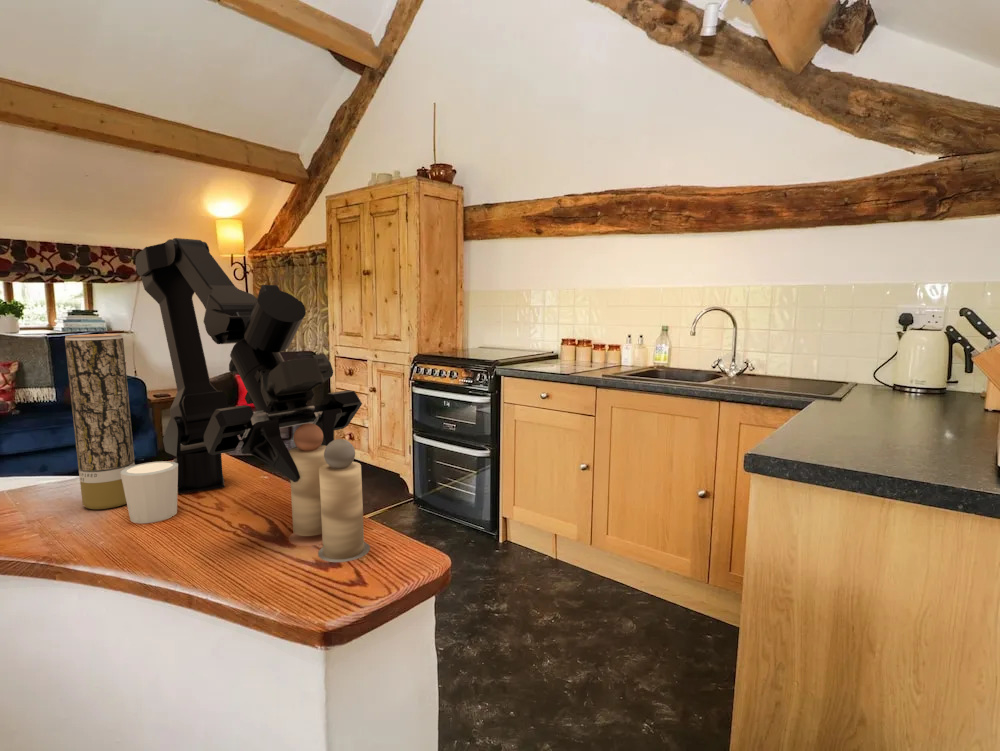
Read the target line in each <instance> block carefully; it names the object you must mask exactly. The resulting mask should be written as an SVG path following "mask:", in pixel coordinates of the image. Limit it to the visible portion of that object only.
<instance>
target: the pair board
mask: <svg viewBox="0 0 1000 751" xmlns="http://www.w3.org/2000/svg"><path fill="white" fill-rule="evenodd" d="M288 541H289V543H290V544H292V545H295V546H300V547H301V546H302V547H307V546H308V547H310V546H318V545H323V540H322V534H319V535H314V536H300V535H297V534H295V533H294V532H293V533H291V534H290V535H289V537H288ZM370 550H371V546H370V545H369V543H367V542H366V541H364V551H363V552H362V553H361V554H359V555H357V556H355V557H352V558H348V559H340V560H336V559H329V558H327V557H325V556H324V555H323V546H322V547H321V548H320V549H319V550H318V552H317V556H318V557H319V558H320V559H321V560H323V561H326V562H331V563H344V562H350V561H351V562H352V561H355V560H357V559H360V558H362V557H364V556H365V555H367V554H368V553H369V552H370Z"/></svg>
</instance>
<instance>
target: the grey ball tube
mask: <svg viewBox="0 0 1000 751" xmlns="http://www.w3.org/2000/svg"><path fill="white" fill-rule="evenodd" d="M355 457H356V450H355V447H354V446H353V444H352V443H351V442H350V441H349V440H347V439H343V438H337V439H334V441H332V442H330V443H329V444H328V445H327V447H326V448H325V451H324V458H325V461H326V463H327V464H325V465H322V466H321V467H320V468H319V478H320V499H321V519H322V540H323V544H322V547H323V555H324V556H325V557H327V558H329V559H336V560H340V559H348V558H352V557H355V556H357V555H359V554H361V553H362V552H363V551H364V542H365V535H364V534H365V533H364V532H365V530H364V509H363V508H364V506H363V481H362V480H363V479H362V465H361V463H359V462H357V461H354V460H355Z"/></svg>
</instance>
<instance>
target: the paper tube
mask: <svg viewBox="0 0 1000 751" xmlns="http://www.w3.org/2000/svg"><path fill="white" fill-rule="evenodd" d="M64 337H65V338H64V345H65V353H66V356H65V357H66V364H67V372H68V383H69V390H70V391H69V394H70V402H71V411H72V417H73V418H72V420H73V421H72V422H73V428H74V438H75V439H74V440H75V448H76V458H77V466H78V467H77V468H78V474H79V475H78V476H79V482H80V485H79V486H80V491H81V492H80V494H81V501H82V505H83V506H84V507H85V508H86V509H89V510H107V509H113V508H118V507H121V506H125V505H127V502H126V497H125V493H124V488H123V483H122V478H121V474H120V473H121V471H122V470H124V469H125V468H128V467H131V466H134V465H136V463H135V452H134V451H135V450H134V441H133V431H132V429H133V428H132V419H131V417H132V416H131V409H130V408H131V407H130V398H129V388H128V377H127V374H128V373H127V366H126V354H125V343H124V337H123V334H122V333H98V334H96V333H95V334H93V333H92V334H73V335H72V334H71V335H64Z"/></svg>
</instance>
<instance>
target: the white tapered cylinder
mask: <svg viewBox="0 0 1000 751" xmlns="http://www.w3.org/2000/svg"><path fill="white" fill-rule="evenodd" d="M120 474H121V478H122V483H123V488H124V493H125V497H126V502H127V504H126V506H127V510H128V511H127V512H128V515H129V520H130V522H132V523H133V524H134V523H135V524H151V523H157V522H161V521H165V520H168V519H170V518H172V516H173V517H174V516H175V515H176V514H177V513H178V463H175V462H173V461H169V460H168V461H167V460H165V461H152V462H151V461H150V462H144V463H139V464H135V465H134V466H131V467H128V468H125V469H124V470H122V471H121V473H120Z"/></svg>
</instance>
